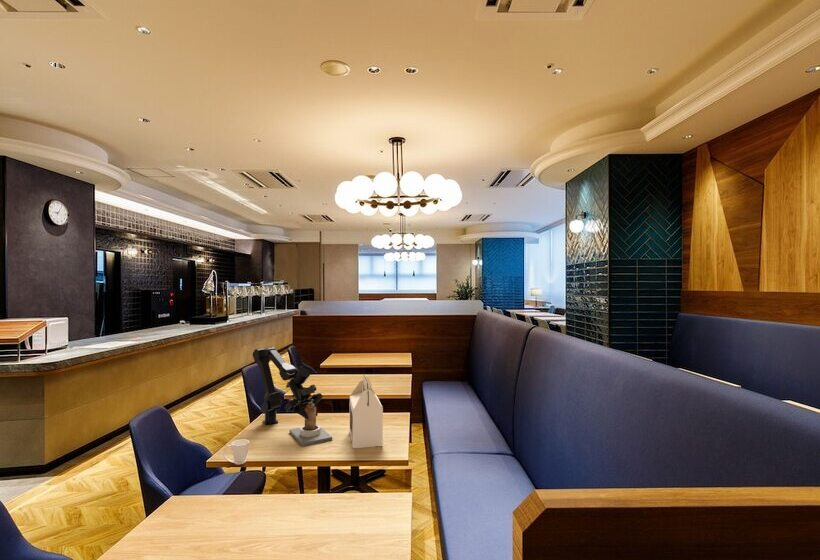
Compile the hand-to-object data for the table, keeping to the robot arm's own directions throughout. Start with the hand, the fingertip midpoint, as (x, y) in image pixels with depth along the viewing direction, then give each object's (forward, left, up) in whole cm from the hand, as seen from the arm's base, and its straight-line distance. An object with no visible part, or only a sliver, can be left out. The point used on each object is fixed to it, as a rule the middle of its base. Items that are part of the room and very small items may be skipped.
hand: (312, 417), depth 197 cm
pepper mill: (-1, 0, -8) cm, 8 cm away
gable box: (+15, +21, -10) cm, 27 cm away
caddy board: (-1, 0, -9) cm, 9 cm away
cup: (+11, -35, -10) cm, 38 cm away
